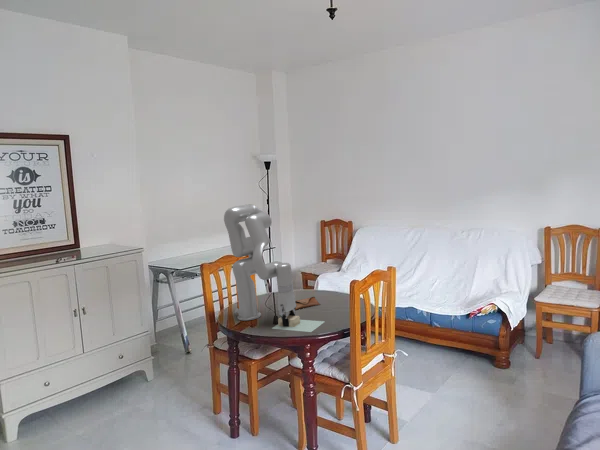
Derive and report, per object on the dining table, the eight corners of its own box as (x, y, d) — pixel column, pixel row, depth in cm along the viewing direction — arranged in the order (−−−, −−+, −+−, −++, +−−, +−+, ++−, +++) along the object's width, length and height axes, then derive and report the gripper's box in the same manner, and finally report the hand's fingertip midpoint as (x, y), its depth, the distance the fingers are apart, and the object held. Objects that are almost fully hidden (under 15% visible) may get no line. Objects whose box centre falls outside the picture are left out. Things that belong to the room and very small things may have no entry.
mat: (271, 329, 224) (271, 328, 224) (286, 319, 237) (286, 318, 237) (311, 332, 213) (311, 332, 213) (325, 322, 226) (325, 321, 226)
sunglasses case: (292, 311, 250) (289, 299, 252) (288, 315, 256) (285, 303, 258) (322, 304, 257) (318, 293, 260) (317, 308, 263) (314, 297, 265)
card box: (278, 325, 227) (277, 318, 227) (284, 321, 232) (283, 315, 232) (294, 327, 223) (293, 320, 222) (300, 322, 228) (299, 316, 228)
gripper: (287, 283, 235) (291, 317, 237) (269, 292, 220) (273, 329, 222) (300, 284, 231) (304, 318, 233) (283, 293, 216) (287, 330, 218)
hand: (289, 323), depth 228 cm, fingers closed on card box, 6 cm apart
